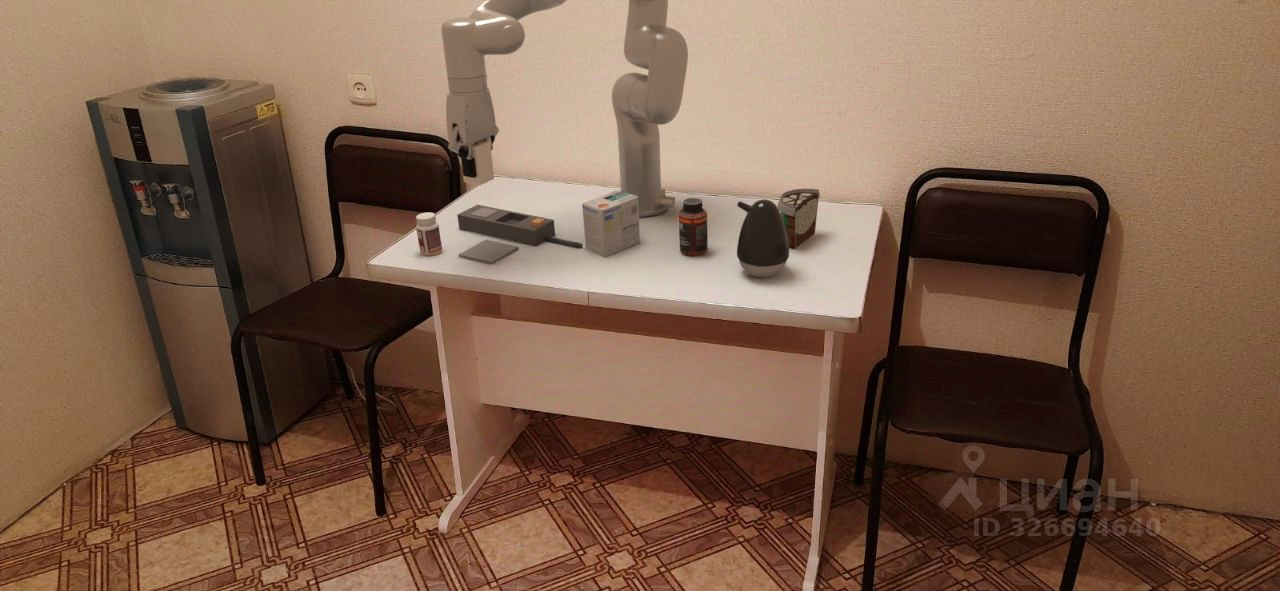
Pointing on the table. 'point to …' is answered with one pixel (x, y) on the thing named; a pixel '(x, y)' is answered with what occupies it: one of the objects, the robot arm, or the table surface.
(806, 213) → the food container
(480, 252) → the grey mat
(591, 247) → the light bulb box
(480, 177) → the block
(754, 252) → the pump dispenser
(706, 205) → the table surface
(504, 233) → the power strip
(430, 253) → the pill bottle
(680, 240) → the supplement bottle
